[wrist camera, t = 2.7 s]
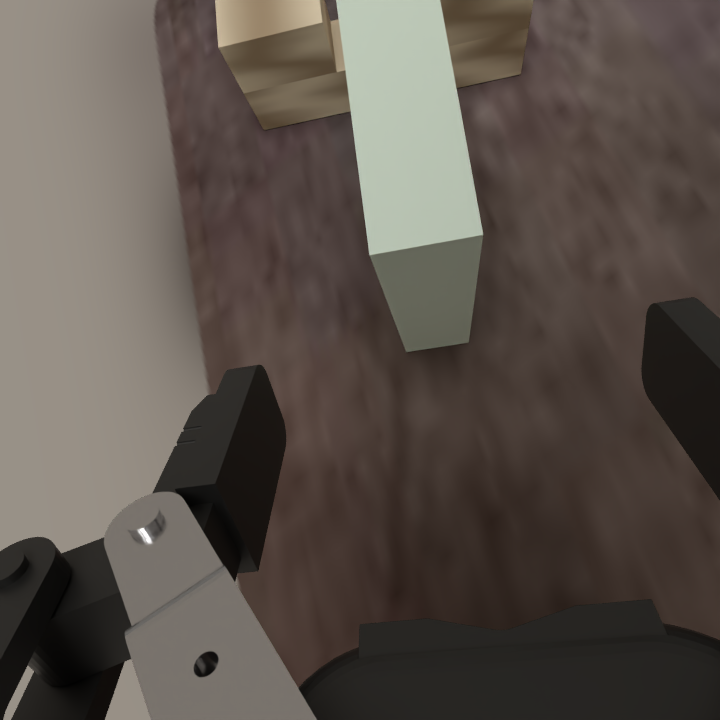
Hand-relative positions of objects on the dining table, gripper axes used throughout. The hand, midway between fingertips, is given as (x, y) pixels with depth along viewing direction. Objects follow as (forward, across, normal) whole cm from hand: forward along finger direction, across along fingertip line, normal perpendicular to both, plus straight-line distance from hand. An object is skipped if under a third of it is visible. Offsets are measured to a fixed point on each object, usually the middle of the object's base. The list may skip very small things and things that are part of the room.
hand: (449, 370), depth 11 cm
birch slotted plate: (+23, +1, -4) cm, 23 cm away
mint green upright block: (+16, 0, +4) cm, 16 cm away
